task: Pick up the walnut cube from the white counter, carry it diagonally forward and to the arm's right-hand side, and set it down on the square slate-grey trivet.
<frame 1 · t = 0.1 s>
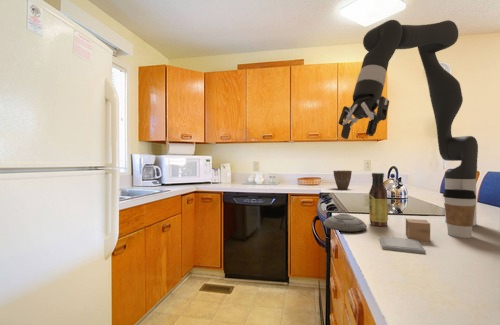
hand: (356, 136, 71), 31 cm above the countertop, tool tilted 20°, fingers open, 8 cm apart
sauce bottle: (378, 225, 96), on the countertop
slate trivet: (400, 245, 72), on the countertop
plant pot: (342, 189, 214), on the countertop
flying saucer: (344, 229, 92), on the countertop
coffee cup: (459, 235, 81), on the countertop
walnut cube: (417, 238, 79), on the countertop
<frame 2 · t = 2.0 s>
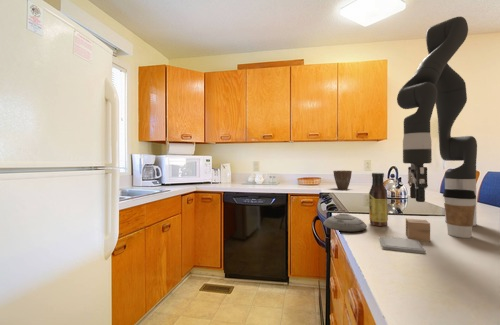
hand: (417, 199, 79), 12 cm above the countertop, tool pointing down, fingers open, 8 cm apart
nothing on the countertop moved.
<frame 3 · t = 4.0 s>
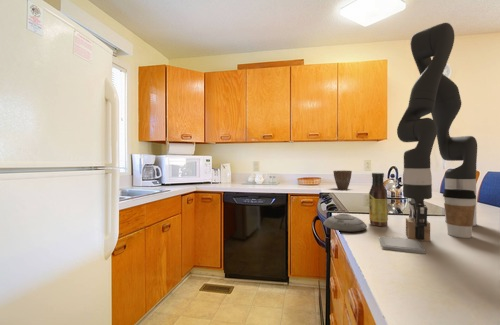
hand: (417, 236, 79), 1 cm above the countertop, tool pointing down, fingers closed on walnut cube, 5 cm apart
walnut cube: (417, 238, 79), on the countertop, touching gripper
everything else where it was.
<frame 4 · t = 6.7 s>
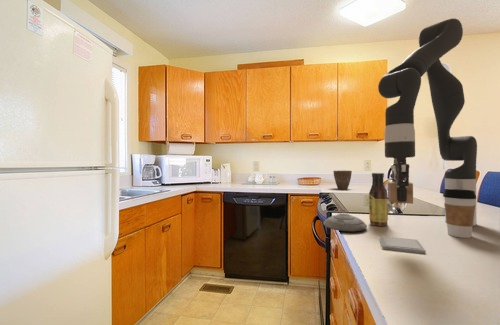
hand: (400, 199, 72), 13 cm above the countertop, tool pointing down, fingers closed on walnut cube, 5 cm apart
walnut cube: (400, 201, 72), point 13 cm above the countertop, touching gripper
everything else where it was.
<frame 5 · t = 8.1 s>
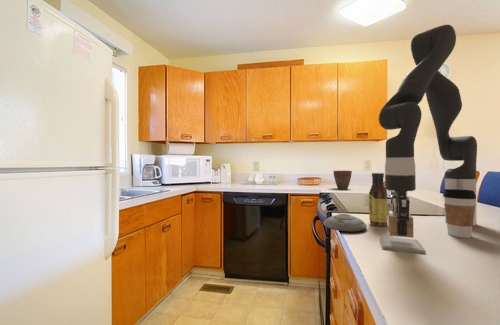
hand: (400, 232, 72), 4 cm above the countertop, tool pointing down, fingers closed on walnut cube, 5 cm apart
walnut cube: (400, 234, 72), point 3 cm above the countertop, touching gripper
everything else where it was.
when the fingers open (2 cm above the countertop, at t = 9.4 s): walnut cube stays where it is, resting on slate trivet.
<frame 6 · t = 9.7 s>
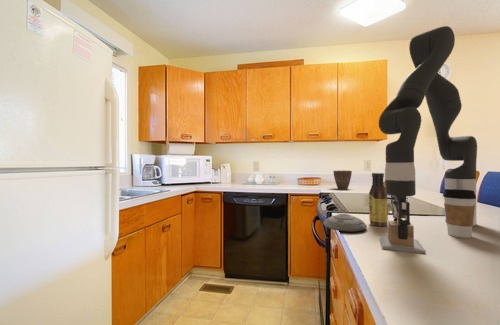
hand: (400, 234, 72), 3 cm above the countertop, tool pointing down, fingers open, 8 cm apart
walnut cube: (400, 242, 72), point 1 cm above the countertop, touching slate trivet
everything else where it was.
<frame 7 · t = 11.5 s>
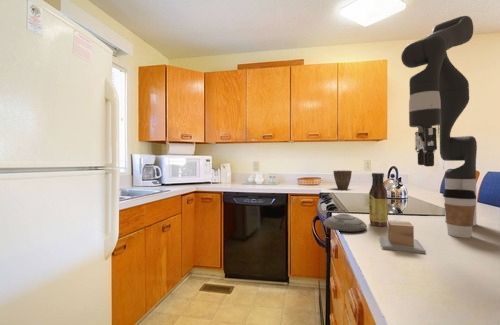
hand: (425, 165, 73), 23 cm above the countertop, tool pointing down, fingers open, 8 cm apart
nothing on the countertop moved.
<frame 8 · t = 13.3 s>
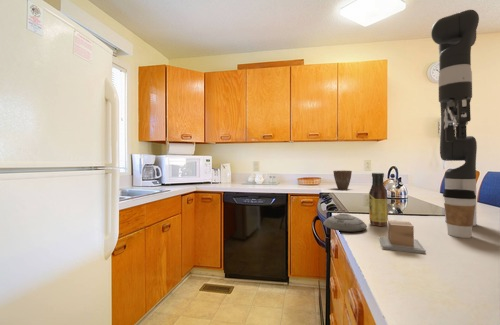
hand: (455, 140, 73), 30 cm above the countertop, tool pointing down, fingers open, 8 cm apart
nothing on the countertop moved.
at the end: walnut cube inside the target area on the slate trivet (0.1 cm from its centre), point 0.9 cm above the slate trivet's base; walnut cube tilted 0°; the gripper is holding nothing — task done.
